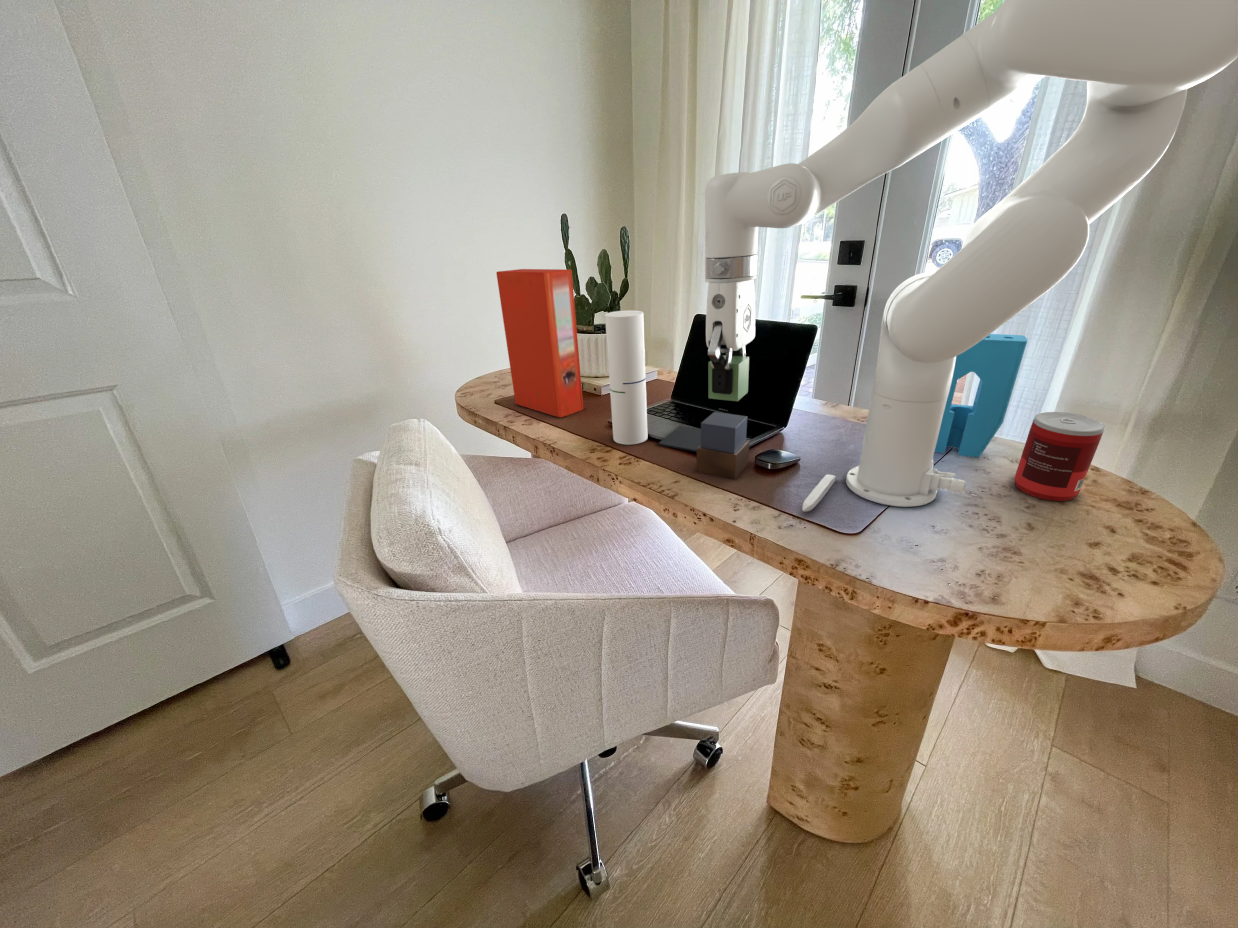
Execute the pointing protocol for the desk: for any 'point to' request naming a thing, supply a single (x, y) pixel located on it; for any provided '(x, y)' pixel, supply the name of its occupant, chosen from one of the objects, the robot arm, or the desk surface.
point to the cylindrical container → (627, 375)
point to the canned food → (1057, 455)
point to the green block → (733, 379)
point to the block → (982, 394)
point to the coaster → (683, 439)
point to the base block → (723, 461)
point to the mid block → (723, 432)
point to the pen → (818, 492)
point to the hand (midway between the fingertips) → (728, 386)
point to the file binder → (542, 339)
